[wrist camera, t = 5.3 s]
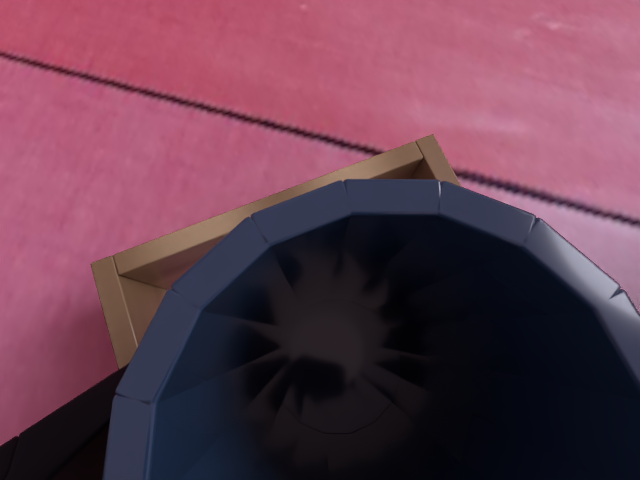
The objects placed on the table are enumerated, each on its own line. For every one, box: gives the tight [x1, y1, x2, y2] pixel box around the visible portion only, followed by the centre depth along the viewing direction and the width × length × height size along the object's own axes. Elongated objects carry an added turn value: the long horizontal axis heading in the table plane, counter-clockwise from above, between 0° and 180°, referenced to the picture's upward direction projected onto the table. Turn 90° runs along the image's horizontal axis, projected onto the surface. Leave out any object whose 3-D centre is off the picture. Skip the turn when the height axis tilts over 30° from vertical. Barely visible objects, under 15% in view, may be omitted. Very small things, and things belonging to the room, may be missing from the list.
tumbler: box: [102, 179, 640, 480], centre depth 10 cm, size 6×6×13 cm
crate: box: [91, 134, 462, 369], centre depth 14 cm, size 14×14×4 cm
